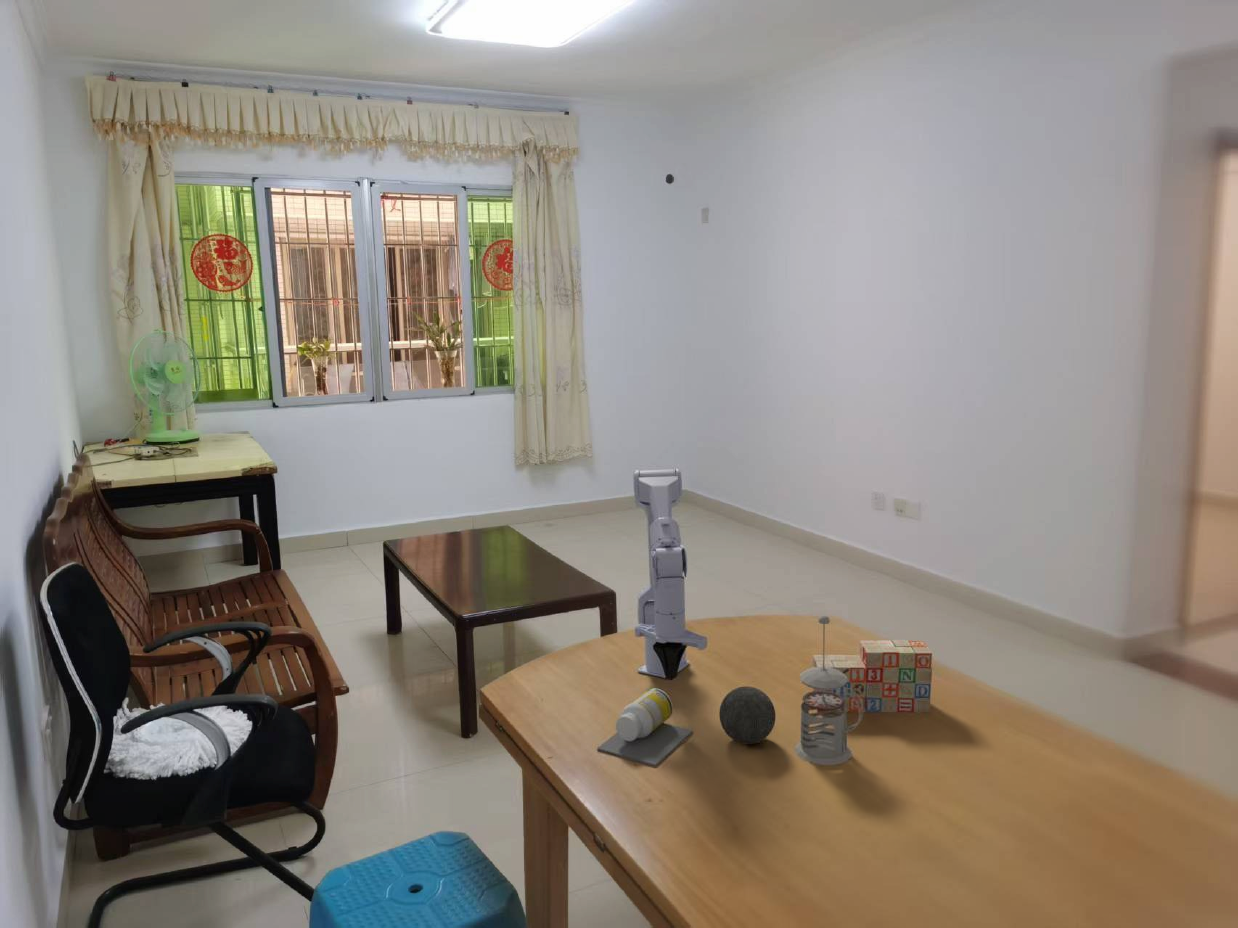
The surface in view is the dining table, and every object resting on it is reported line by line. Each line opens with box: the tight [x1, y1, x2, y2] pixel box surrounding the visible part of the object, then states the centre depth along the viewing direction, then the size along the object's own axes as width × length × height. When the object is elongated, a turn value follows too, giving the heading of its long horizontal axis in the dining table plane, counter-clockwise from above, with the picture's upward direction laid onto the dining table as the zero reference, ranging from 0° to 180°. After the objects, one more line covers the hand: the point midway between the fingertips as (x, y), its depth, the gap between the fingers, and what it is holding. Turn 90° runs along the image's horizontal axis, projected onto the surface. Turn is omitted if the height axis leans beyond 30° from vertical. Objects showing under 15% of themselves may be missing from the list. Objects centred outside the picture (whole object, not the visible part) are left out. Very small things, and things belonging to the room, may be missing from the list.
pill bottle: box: [615, 687, 674, 741], centre depth 164 cm, size 6×6×12 cm
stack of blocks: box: [812, 639, 933, 713], centre depth 172 cm, size 21×6×12 cm, turn 85°
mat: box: [596, 722, 694, 768], centre depth 162 cm, size 14×12×1 cm
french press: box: [794, 615, 864, 766], centre depth 154 cm, size 10×12×25 cm
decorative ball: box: [718, 685, 776, 745], centre depth 160 cm, size 10×10×10 cm
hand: (671, 677), depth 169 cm, fingers closed
